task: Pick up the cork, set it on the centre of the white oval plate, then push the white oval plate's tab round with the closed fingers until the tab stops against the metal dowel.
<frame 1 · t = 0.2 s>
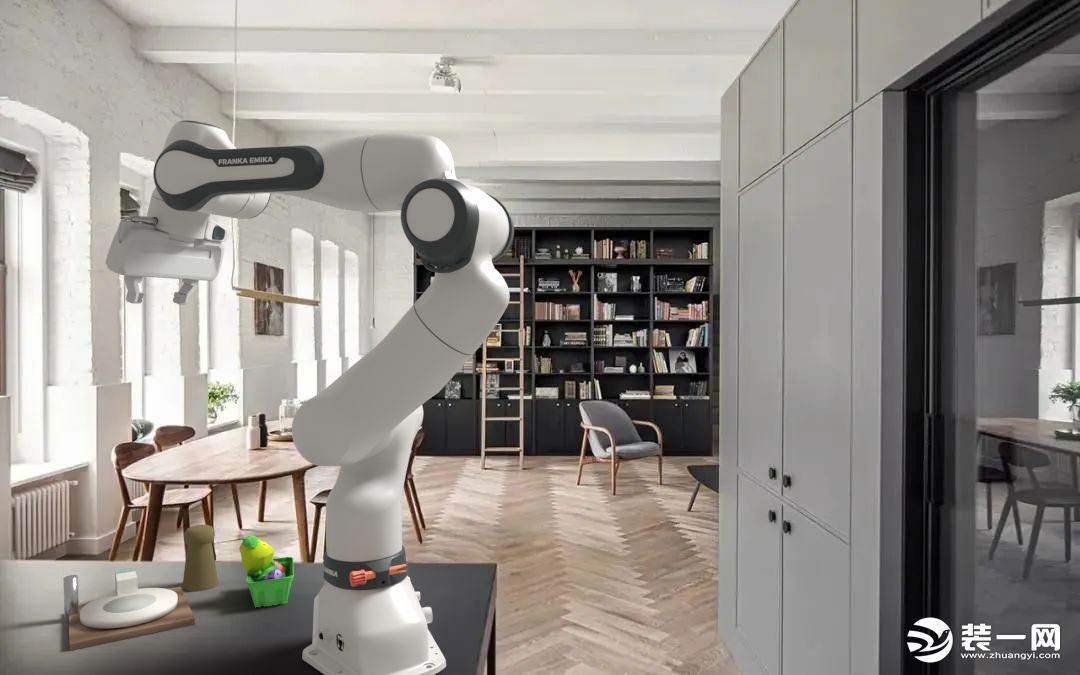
hand: (157, 303, 122), 52 cm above the table, tool tilted 20°, fingers open, 8 cm apart
fruit basket: (267, 598, 131), on the table
white oval plate: (129, 595, 124), point 3 cm above the table, hinge at 0.0°
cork: (200, 586, 137), on the table
wooden board: (130, 618, 123), on the table
dowel: (71, 619, 122), on the table
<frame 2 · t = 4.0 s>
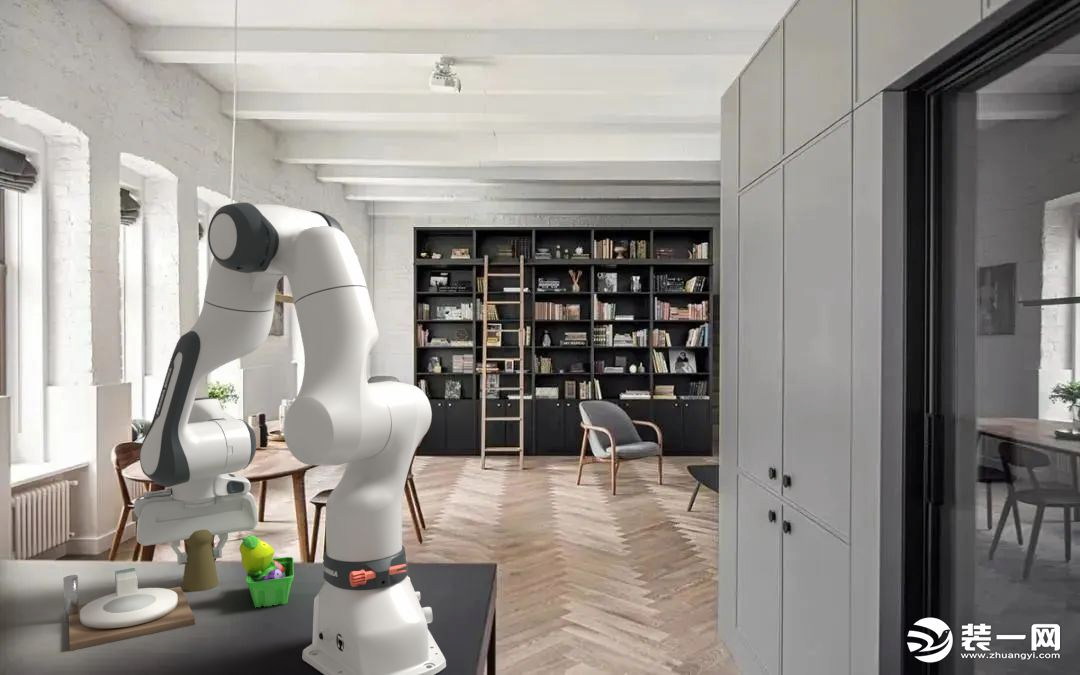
hand: (199, 560, 137), 5 cm above the table, tool pointing down, fingers closed on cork, 4 cm apart
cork: (200, 586, 137), on the table, touching gripper
everything else where it was.
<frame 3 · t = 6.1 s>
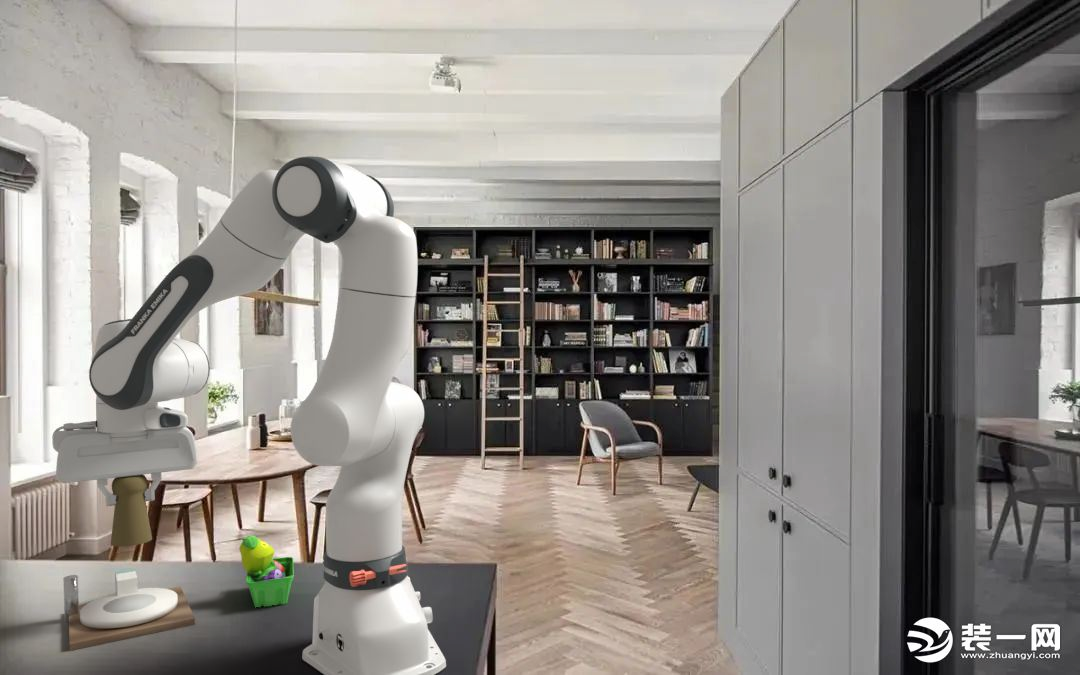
hand: (130, 502, 122), 19 cm above the table, tool pointing down, fingers closed on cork, 4 cm apart
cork: (131, 542, 123), point 12 cm above the table, touching gripper
everything else where it was.
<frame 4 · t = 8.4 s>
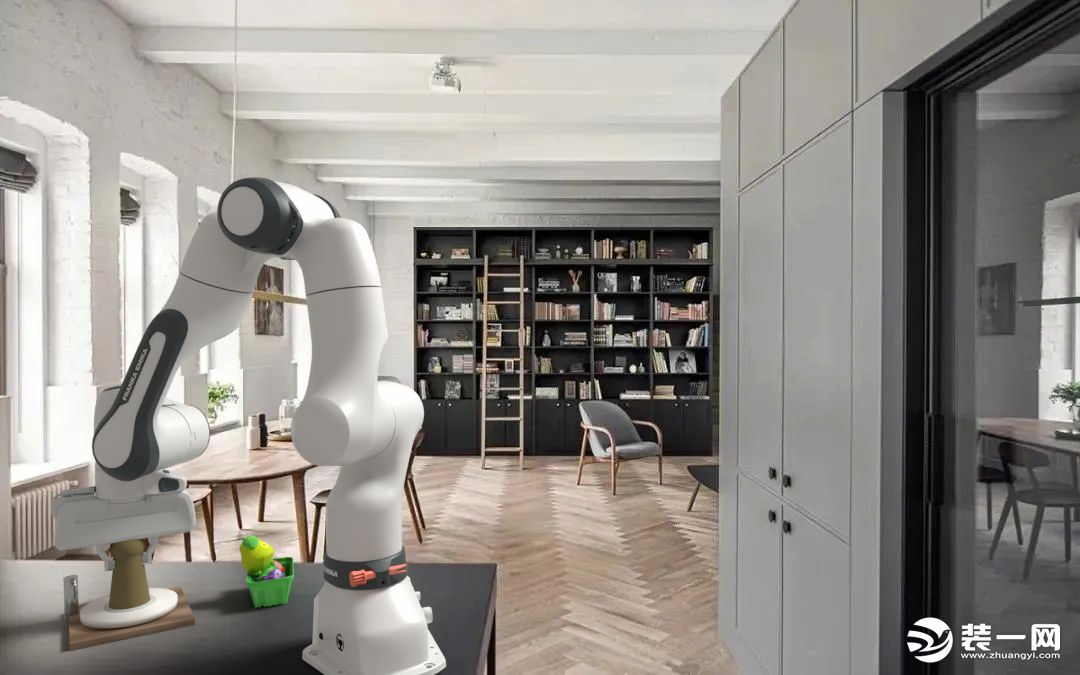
hand: (128, 566, 122), 9 cm above the table, tool pointing down, fingers closed on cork, 4 cm apart
white oval plate: (129, 595, 124), point 3 cm above the table, hinge at 0.0°, touching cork
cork: (129, 603, 123), point 2 cm above the table, touching gripper, white oval plate
everything else where it was.
when the fingers open (9 cm above the table, at t = 8.5 s): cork stays where it is, resting on white oval plate.
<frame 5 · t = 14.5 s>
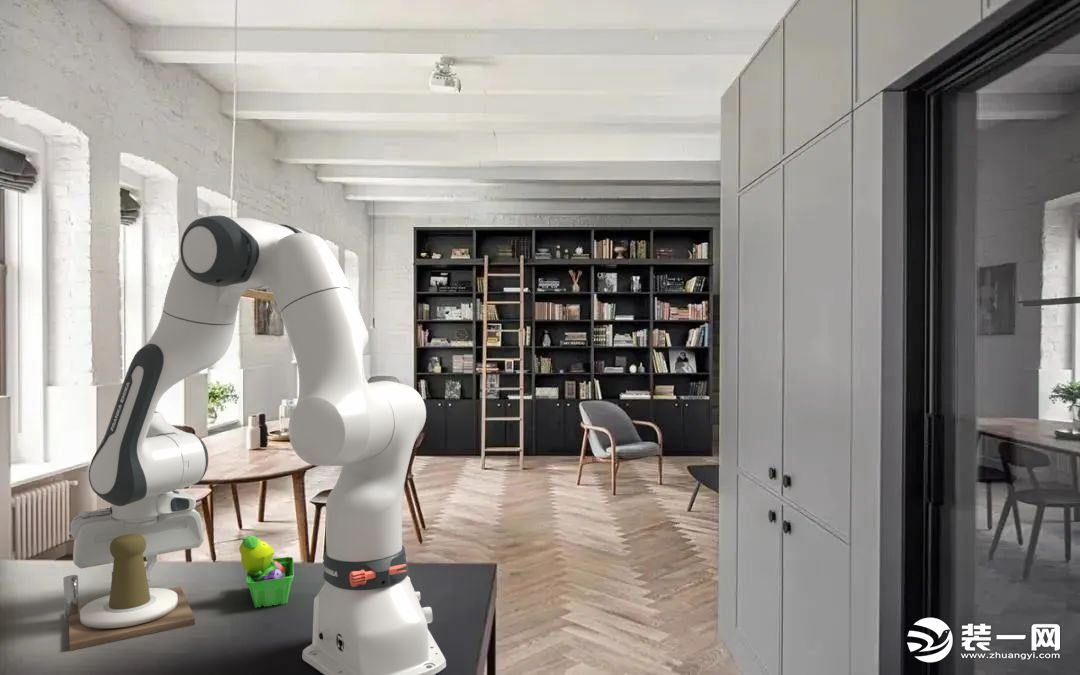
hand: (141, 581, 132), 3 cm above the table, tool pointing down, fingers closed
white oval plate: (128, 595, 124), point 3 cm above the table, hinge at 2.9°, touching gripper, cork
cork: (129, 603, 123), point 2 cm above the table, touching white oval plate
everything else where it was.
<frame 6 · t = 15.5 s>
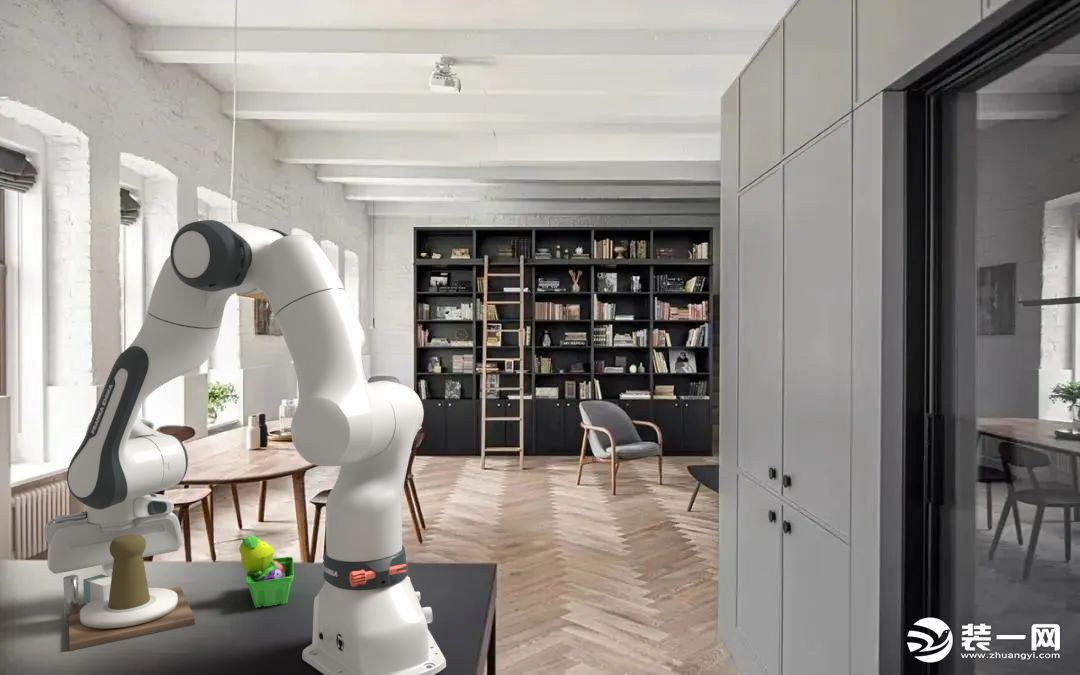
hand: (118, 586, 130), 3 cm above the table, tool pointing down, fingers closed
white oval plate: (122, 597, 123), point 3 cm above the table, hinge at 26.8°, touching gripper, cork
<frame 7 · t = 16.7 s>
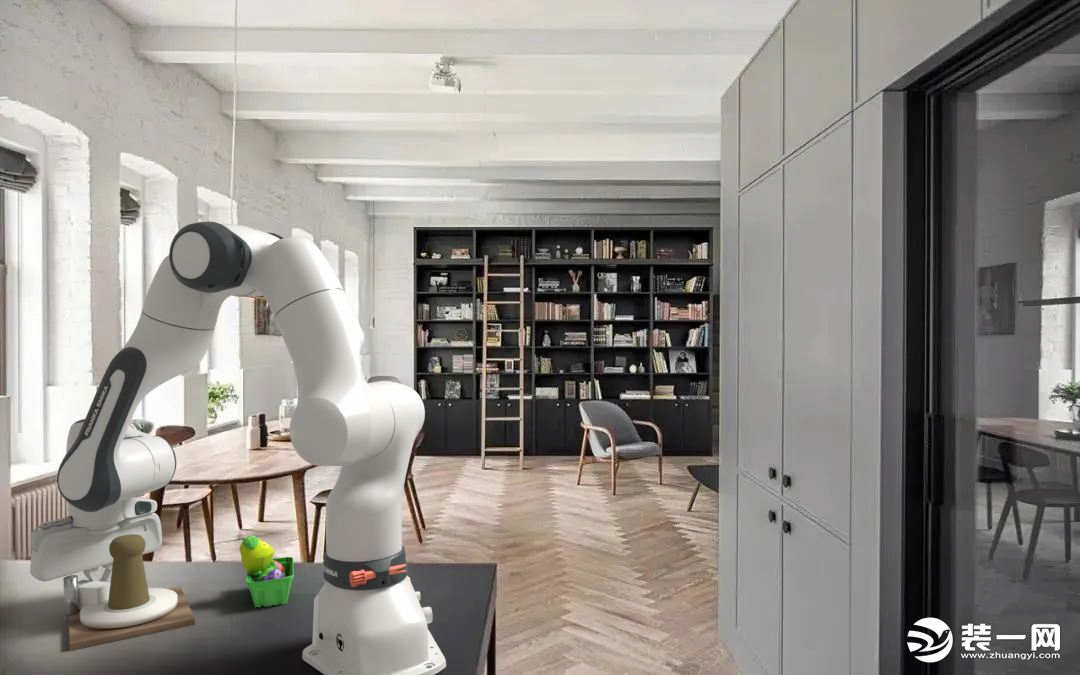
hand: (100, 590, 128), 3 cm above the table, tool pointing down, fingers closed
white oval plate: (119, 598, 123), point 3 cm above the table, hinge at 43.1°, touching dowel, gripper, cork
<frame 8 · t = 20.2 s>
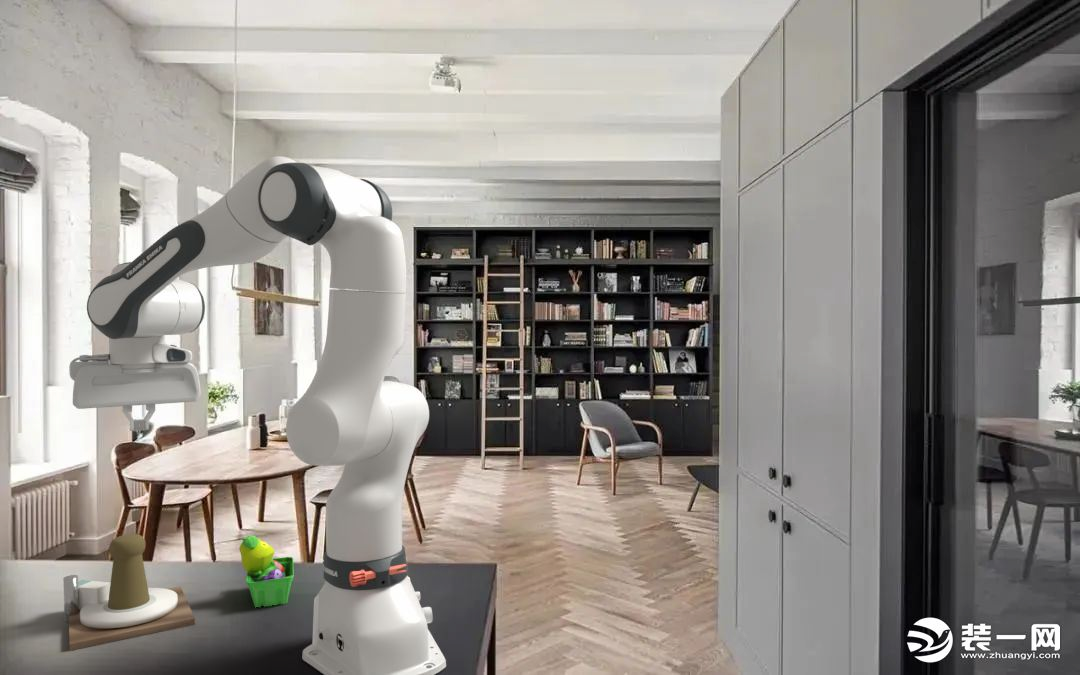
hand: (139, 430, 134), 29 cm above the table, tool pointing down, fingers closed
white oval plate: (119, 598, 123), point 3 cm above the table, hinge at 43.1°, touching dowel, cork
at the end: white oval plate at +43° (first picture: +0°); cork 0.2 cm from the white oval plate (horizontally); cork tilted 0° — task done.
